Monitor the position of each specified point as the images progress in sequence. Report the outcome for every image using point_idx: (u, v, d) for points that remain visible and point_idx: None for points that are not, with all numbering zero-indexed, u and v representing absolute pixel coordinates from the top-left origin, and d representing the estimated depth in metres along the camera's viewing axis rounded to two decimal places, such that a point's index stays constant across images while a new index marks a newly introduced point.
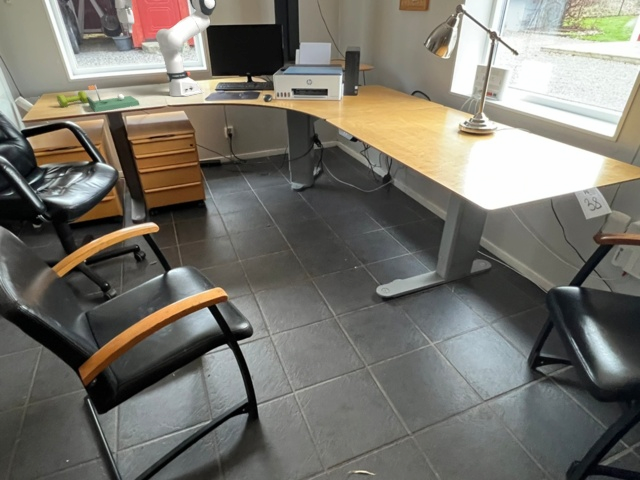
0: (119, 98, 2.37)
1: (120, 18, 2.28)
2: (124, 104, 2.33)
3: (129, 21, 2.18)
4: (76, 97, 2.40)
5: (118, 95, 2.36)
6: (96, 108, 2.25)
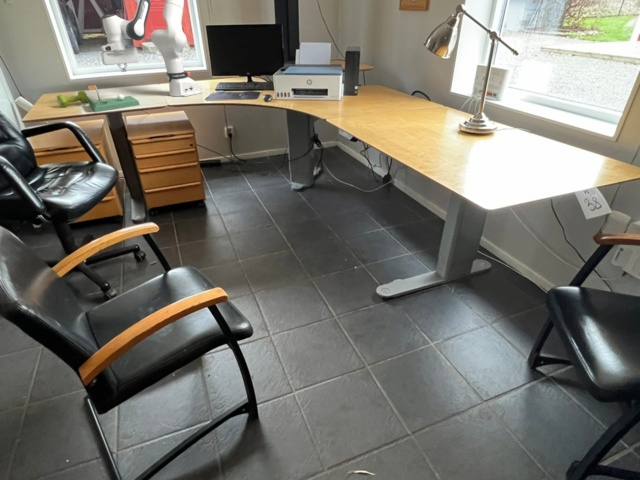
0: (119, 98, 2.37)
1: (111, 60, 2.25)
2: (124, 104, 2.33)
3: (138, 59, 2.34)
4: (76, 97, 2.40)
5: (118, 95, 2.36)
6: (96, 108, 2.25)
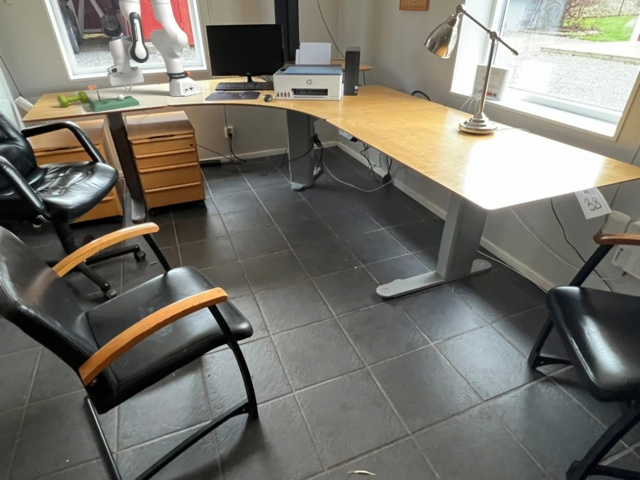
0: (119, 98, 2.37)
1: (117, 81, 2.31)
2: (124, 104, 2.33)
3: (143, 79, 2.40)
4: (76, 97, 2.40)
5: (118, 95, 2.36)
6: (96, 108, 2.25)
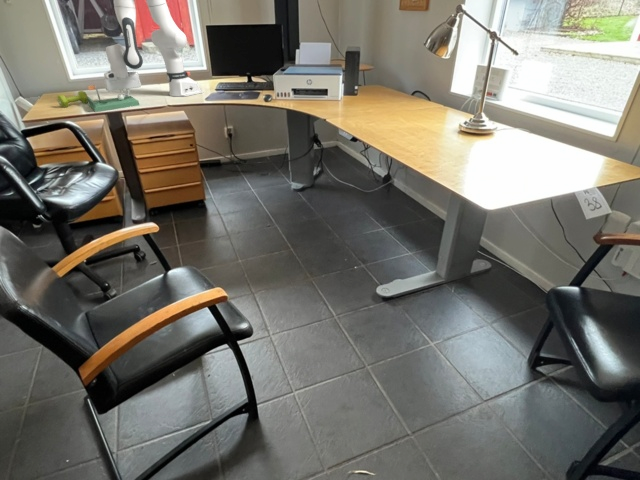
0: (119, 98, 2.37)
1: (114, 86, 2.32)
2: (124, 104, 2.33)
3: (140, 84, 2.41)
4: (76, 97, 2.40)
5: (118, 95, 2.36)
6: (96, 108, 2.25)
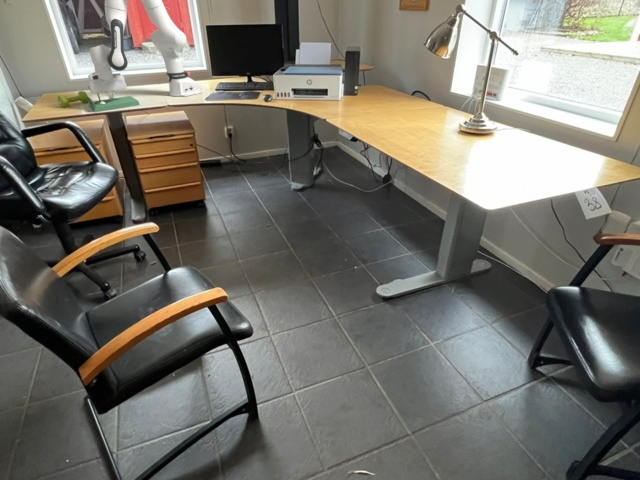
0: None
1: (98, 88, 2.27)
2: (124, 104, 2.33)
3: (126, 86, 2.36)
4: (77, 97, 2.40)
5: None
6: (96, 108, 2.25)
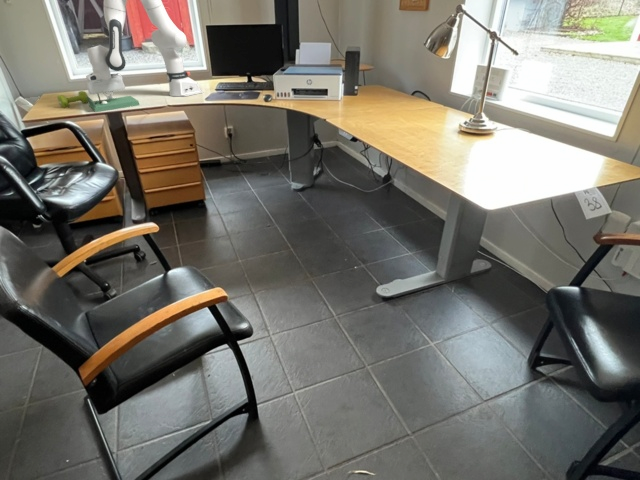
0: None
1: (96, 89, 2.27)
2: (124, 104, 2.33)
3: (124, 86, 2.36)
4: (77, 97, 2.40)
5: (102, 102, 2.33)
6: (96, 108, 2.25)
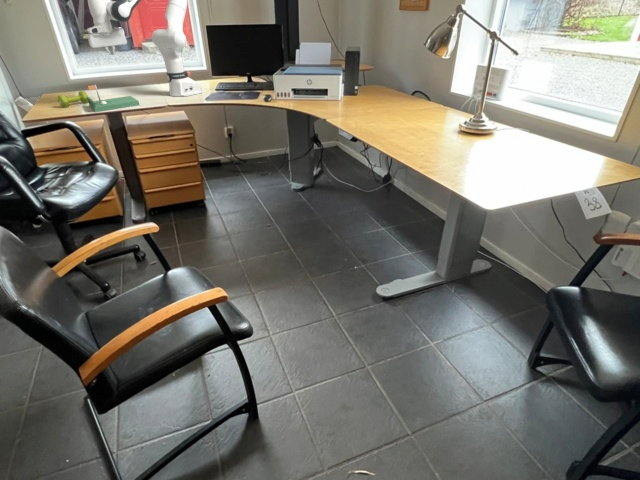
0: None
1: (98, 43, 2.21)
2: (124, 104, 2.33)
3: (126, 41, 2.30)
4: (77, 97, 2.39)
5: (101, 102, 2.32)
6: (96, 108, 2.25)
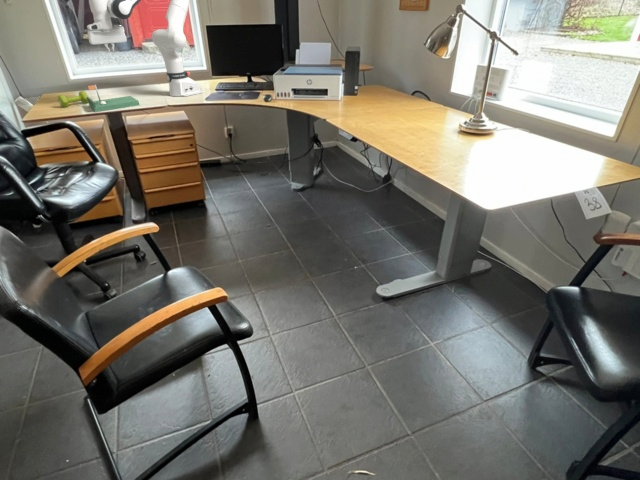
0: None
1: (97, 40, 2.21)
2: (124, 104, 2.33)
3: (126, 39, 2.30)
4: (77, 97, 2.39)
5: (100, 103, 2.32)
6: (96, 108, 2.25)
